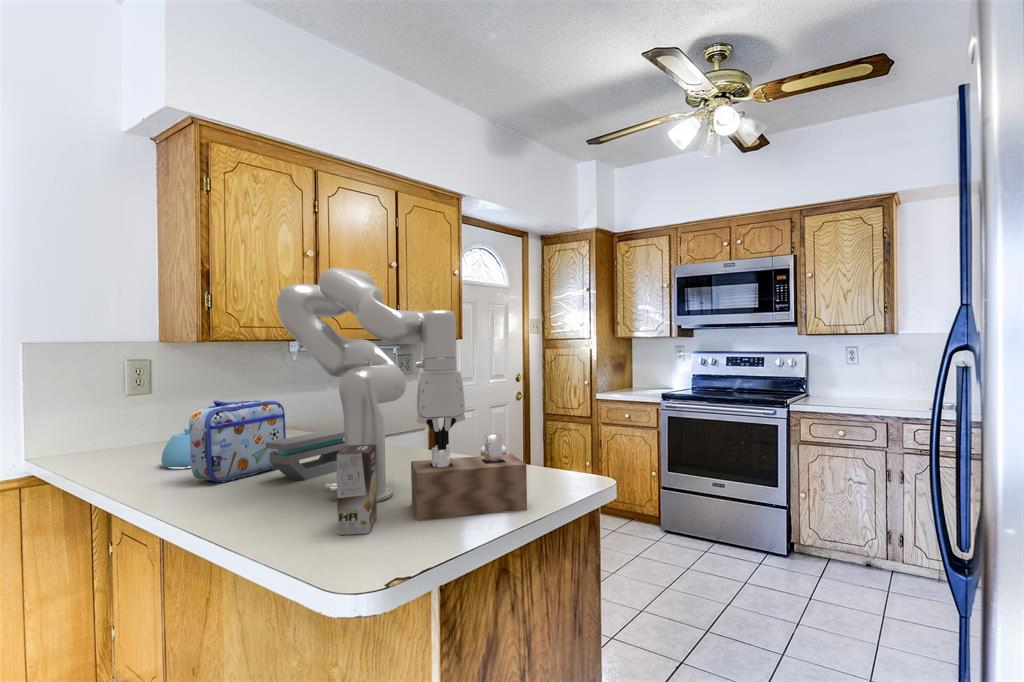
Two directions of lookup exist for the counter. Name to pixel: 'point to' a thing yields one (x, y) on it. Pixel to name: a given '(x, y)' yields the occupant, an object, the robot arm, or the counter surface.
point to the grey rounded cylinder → (440, 457)
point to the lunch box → (234, 438)
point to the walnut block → (468, 487)
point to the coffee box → (356, 489)
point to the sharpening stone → (307, 454)
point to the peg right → (493, 448)
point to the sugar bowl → (177, 451)
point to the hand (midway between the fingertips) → (441, 448)
